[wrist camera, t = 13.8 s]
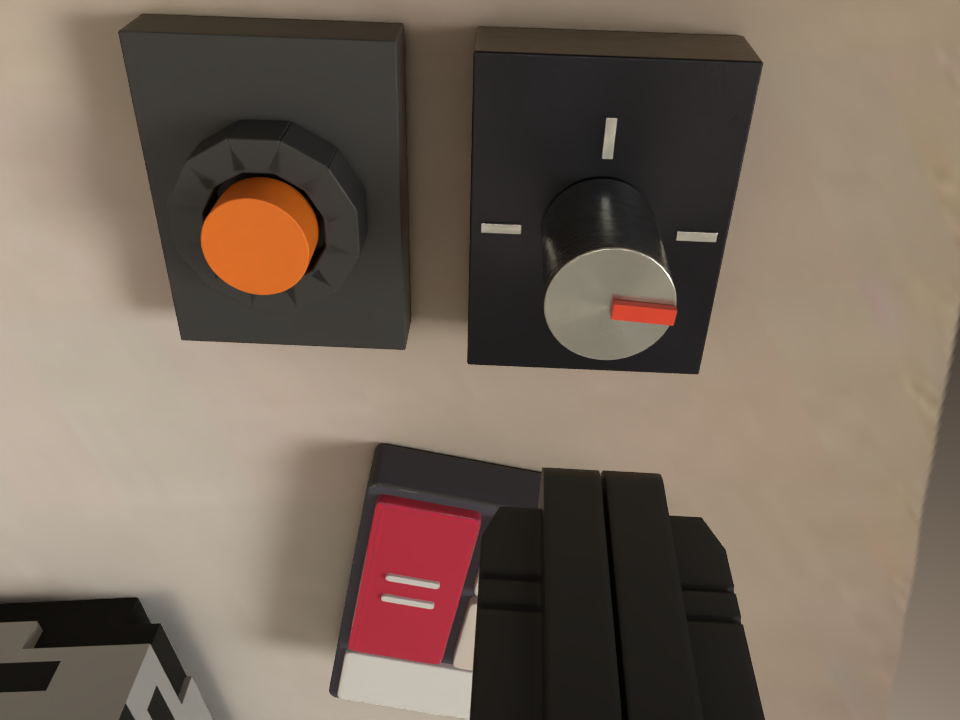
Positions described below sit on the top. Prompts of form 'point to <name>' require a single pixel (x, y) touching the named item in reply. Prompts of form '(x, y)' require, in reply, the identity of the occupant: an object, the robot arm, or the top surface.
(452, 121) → the top surface
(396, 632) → the calculator
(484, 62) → the dial panel
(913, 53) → the top surface
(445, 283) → the top surface
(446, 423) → the top surface
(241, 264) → the button
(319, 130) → the button block
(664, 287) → the dial
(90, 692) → the game console
